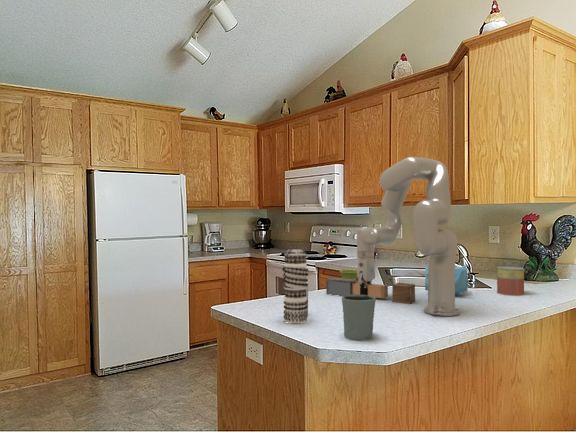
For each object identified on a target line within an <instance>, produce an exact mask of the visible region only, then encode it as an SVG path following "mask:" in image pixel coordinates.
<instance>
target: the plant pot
mask: <svg viewBox="0 0 576 432" xmlns="http://www.w3.org/2000/svg"><path fill="white" fill-rule="evenodd" d="M339 273H340V276H341V277H340V278H347V279H357V269H342V270H341V269H340V270H339Z"/></svg>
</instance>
